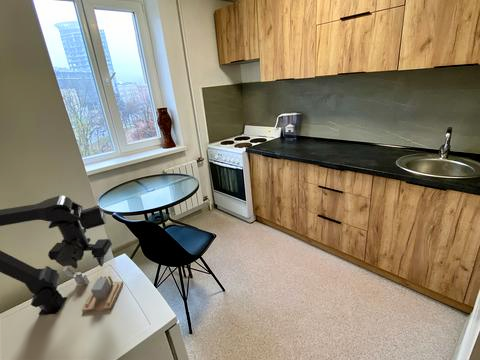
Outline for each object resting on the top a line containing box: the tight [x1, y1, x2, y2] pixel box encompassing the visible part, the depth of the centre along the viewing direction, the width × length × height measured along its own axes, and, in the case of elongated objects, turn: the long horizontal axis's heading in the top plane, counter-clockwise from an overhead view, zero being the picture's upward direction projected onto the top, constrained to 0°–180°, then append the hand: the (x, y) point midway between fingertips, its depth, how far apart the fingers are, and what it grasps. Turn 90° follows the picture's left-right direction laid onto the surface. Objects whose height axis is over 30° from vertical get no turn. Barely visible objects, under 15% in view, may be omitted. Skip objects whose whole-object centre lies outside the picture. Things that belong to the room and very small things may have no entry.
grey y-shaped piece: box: [62, 266, 90, 286], centre depth 97 cm, size 7×2×8 cm, turn 84°
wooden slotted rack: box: [81, 275, 124, 313], centre depth 91 cm, size 10×11×5 cm
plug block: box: [90, 277, 111, 300], centre depth 91 cm, size 4×5×5 cm
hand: (89, 266), depth 90 cm, fingers open, 9 cm apart
